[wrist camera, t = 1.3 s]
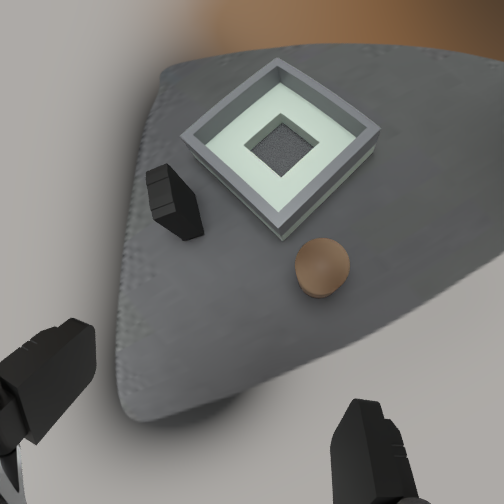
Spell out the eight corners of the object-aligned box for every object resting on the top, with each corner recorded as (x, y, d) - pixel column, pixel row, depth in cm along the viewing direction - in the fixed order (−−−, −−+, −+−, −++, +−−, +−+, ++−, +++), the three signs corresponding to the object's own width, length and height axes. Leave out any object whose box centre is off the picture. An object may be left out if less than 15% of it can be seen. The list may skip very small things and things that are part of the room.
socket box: (281, 84, 36) (277, 57, 31) (373, 152, 32) (381, 128, 27) (195, 157, 36) (179, 136, 31) (282, 241, 32) (278, 228, 27)
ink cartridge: (176, 200, 35) (143, 170, 27) (195, 193, 35) (165, 160, 27) (184, 242, 34) (150, 219, 26) (204, 235, 34) (174, 210, 26)
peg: (318, 248, 31) (322, 226, 24) (347, 277, 30) (360, 264, 23) (289, 277, 31) (283, 264, 24) (318, 306, 30) (322, 304, 23)
